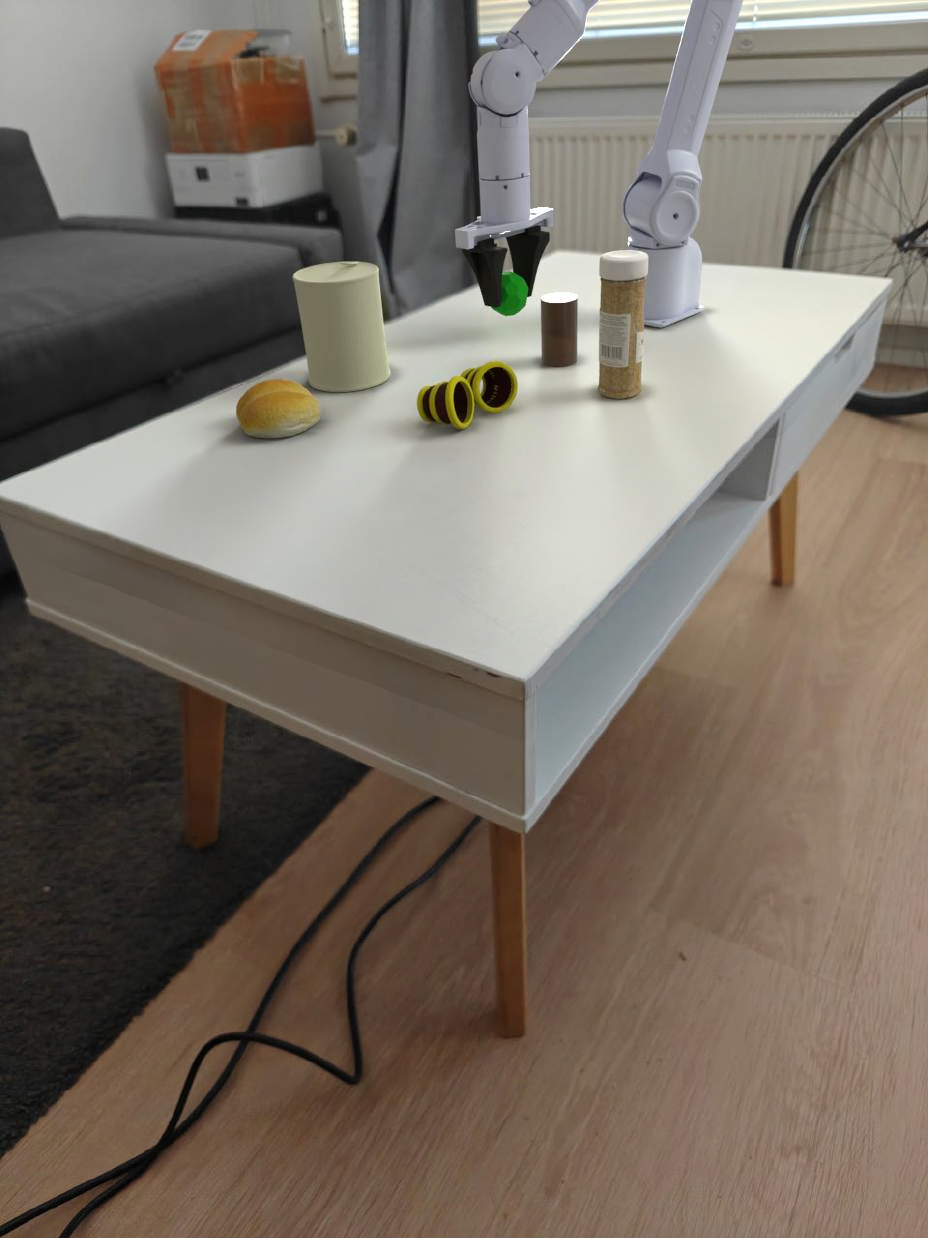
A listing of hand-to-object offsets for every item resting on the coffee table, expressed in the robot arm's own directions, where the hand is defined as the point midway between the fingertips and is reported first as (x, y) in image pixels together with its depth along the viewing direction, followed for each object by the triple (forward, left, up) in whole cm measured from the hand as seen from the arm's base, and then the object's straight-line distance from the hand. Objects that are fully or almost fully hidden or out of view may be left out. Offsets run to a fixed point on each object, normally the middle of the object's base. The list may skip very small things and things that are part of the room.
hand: (508, 300), depth 108 cm
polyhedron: (0, 0, -2) cm, 2 cm away
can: (+22, -4, -4) cm, 23 cm away
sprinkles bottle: (+8, +23, -4) cm, 25 cm away
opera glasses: (+22, +15, -4) cm, 27 cm away
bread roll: (+35, +1, -4) cm, 35 cm away
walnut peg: (+4, +12, -4) cm, 13 cm away
